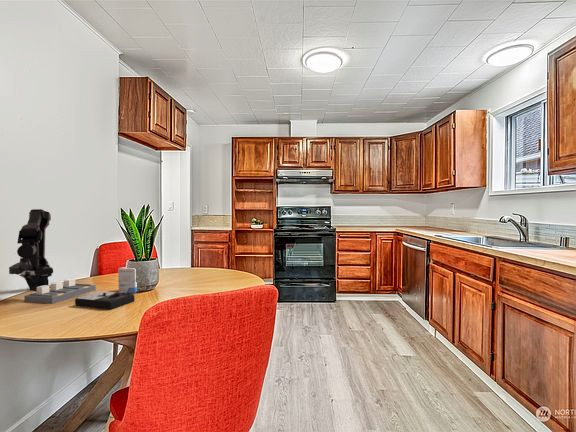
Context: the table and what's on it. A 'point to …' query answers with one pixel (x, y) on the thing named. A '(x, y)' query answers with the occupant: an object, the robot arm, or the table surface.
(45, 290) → the tab
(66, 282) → the tab
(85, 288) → the switch bank
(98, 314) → the table surface
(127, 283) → the ink box
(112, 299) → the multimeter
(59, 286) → the tab
